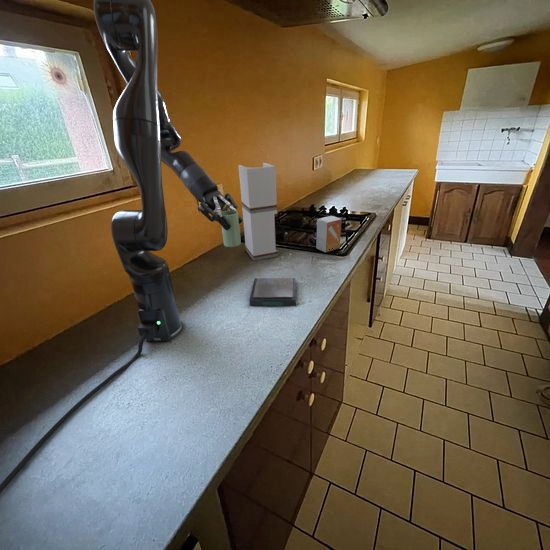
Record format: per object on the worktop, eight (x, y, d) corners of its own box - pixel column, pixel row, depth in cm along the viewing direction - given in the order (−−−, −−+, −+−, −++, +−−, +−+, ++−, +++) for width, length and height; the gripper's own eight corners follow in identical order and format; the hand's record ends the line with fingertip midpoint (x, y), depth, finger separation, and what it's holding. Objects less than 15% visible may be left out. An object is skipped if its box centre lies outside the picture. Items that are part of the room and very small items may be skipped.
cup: (239, 246, 93) (236, 215, 88) (222, 247, 93) (218, 215, 89) (241, 240, 98) (239, 210, 93) (225, 240, 98) (221, 210, 93)
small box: (325, 253, 124) (327, 222, 118) (315, 248, 129) (316, 218, 123) (340, 248, 128) (342, 218, 122) (329, 244, 133) (331, 215, 127)
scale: (296, 306, 90) (296, 299, 89) (249, 306, 91) (249, 299, 90) (295, 283, 103) (295, 276, 102) (254, 283, 104) (254, 276, 103)
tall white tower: (278, 256, 124) (275, 166, 107) (253, 260, 120) (246, 168, 104) (269, 246, 133) (265, 162, 117) (246, 250, 130) (238, 165, 114)
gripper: (187, 178, 83) (227, 225, 84) (219, 170, 95) (254, 211, 95) (176, 196, 88) (214, 240, 89) (208, 186, 99) (241, 226, 100)
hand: (235, 225), depth 92 cm, fingers closed on cup, 5 cm apart
